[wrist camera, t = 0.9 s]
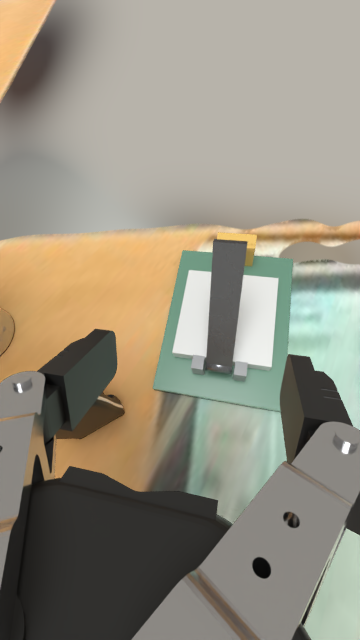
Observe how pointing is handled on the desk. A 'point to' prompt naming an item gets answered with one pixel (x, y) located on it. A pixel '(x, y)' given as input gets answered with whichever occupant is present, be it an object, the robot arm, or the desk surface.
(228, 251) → the gray flat bar
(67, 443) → the desk surface
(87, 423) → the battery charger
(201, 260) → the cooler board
